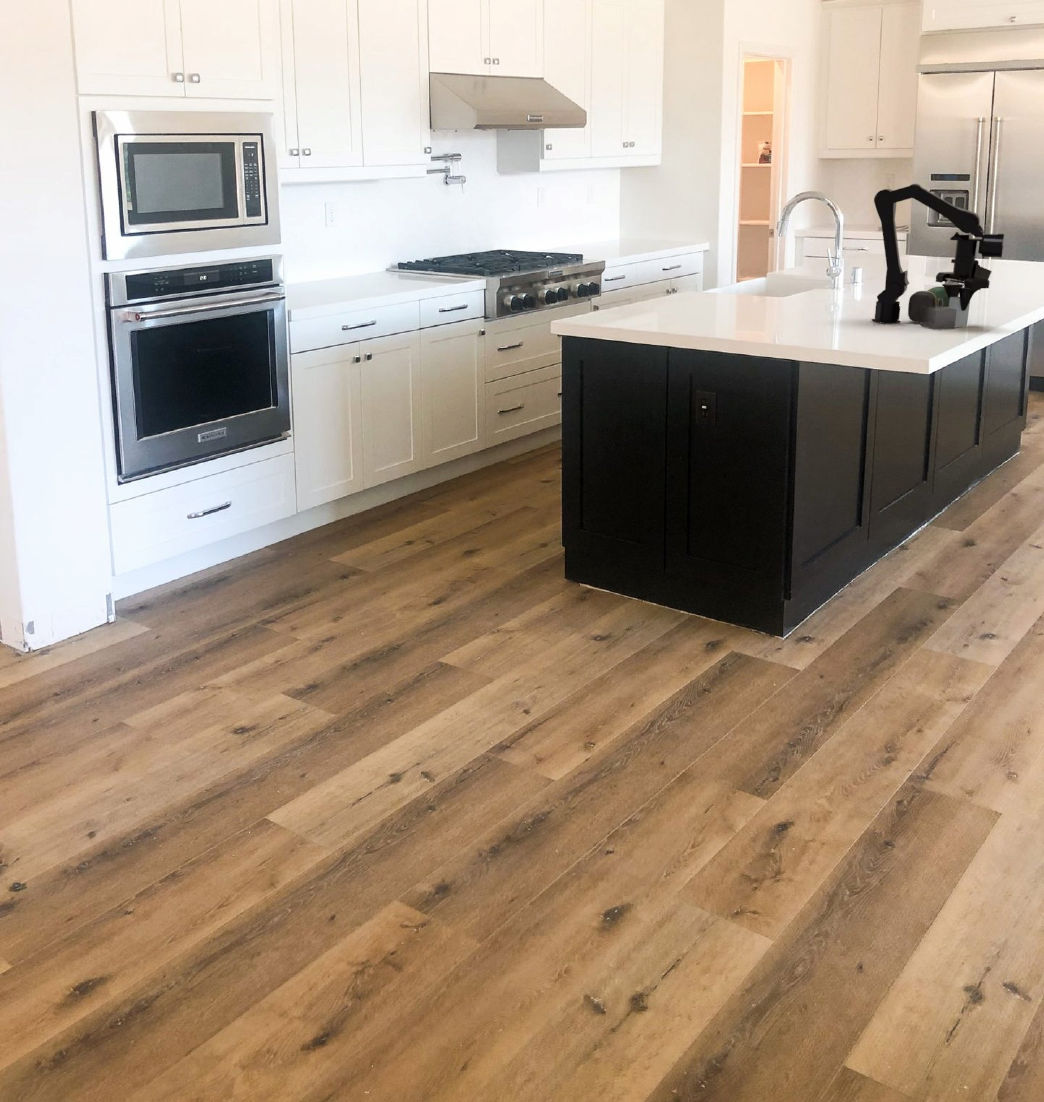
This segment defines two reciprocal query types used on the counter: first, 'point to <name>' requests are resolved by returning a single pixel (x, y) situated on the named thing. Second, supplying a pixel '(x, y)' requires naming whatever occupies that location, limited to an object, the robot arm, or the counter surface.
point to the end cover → (959, 311)
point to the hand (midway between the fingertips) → (958, 309)
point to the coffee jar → (926, 301)
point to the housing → (938, 317)
